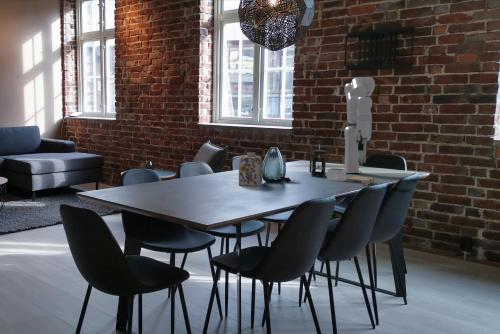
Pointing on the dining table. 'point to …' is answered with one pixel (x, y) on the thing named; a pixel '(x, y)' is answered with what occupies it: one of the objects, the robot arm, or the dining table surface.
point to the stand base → (336, 174)
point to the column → (362, 152)
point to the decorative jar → (250, 170)
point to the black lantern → (313, 164)
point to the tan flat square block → (360, 180)
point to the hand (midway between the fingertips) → (362, 149)
